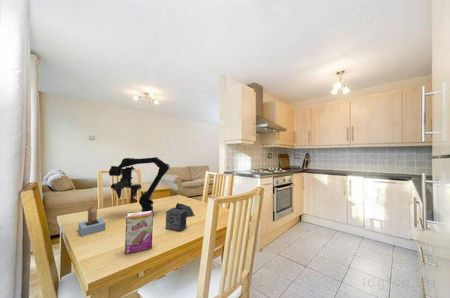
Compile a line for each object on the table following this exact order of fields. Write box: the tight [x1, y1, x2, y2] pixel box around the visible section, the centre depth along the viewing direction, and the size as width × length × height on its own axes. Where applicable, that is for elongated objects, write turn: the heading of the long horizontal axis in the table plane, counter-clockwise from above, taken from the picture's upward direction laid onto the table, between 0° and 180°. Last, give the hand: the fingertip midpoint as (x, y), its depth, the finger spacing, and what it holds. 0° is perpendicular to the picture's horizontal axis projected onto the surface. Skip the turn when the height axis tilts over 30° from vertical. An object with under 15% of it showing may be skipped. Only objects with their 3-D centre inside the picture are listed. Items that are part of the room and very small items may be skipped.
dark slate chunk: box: [170, 202, 195, 218], centre depth 129 cm, size 15×22×5 cm
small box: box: [165, 208, 187, 233], centre depth 102 cm, size 11×6×10 cm, turn 71°
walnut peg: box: [87, 206, 98, 226], centre depth 98 cm, size 4×4×12 cm
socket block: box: [77, 217, 106, 237], centre depth 98 cm, size 10×10×4 cm
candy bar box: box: [124, 211, 154, 255], centre depth 80 cm, size 11×5×16 cm, turn 118°
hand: (125, 198), depth 119 cm, fingers open, 9 cm apart
